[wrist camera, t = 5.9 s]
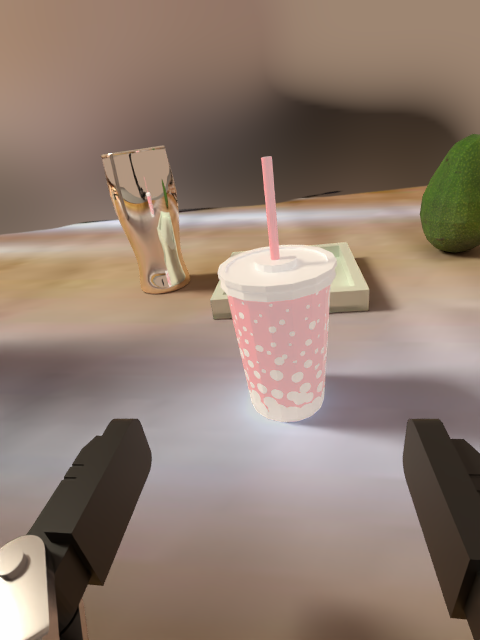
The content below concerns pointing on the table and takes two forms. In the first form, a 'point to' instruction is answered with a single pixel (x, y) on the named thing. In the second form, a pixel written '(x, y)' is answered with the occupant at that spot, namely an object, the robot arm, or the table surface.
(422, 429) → the robot arm
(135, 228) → the metal tumbler
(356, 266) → the tray
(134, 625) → the table surface
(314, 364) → the beverage cup
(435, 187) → the avocado
